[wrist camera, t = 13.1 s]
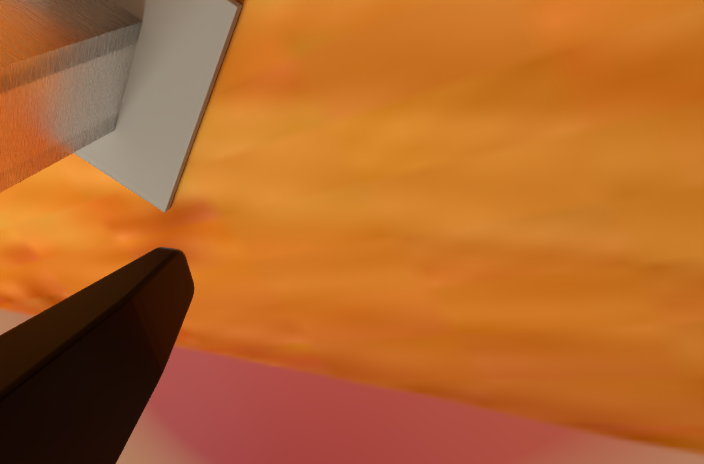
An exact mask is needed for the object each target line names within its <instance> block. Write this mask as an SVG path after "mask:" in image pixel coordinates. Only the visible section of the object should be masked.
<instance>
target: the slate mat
mask: <svg viewBox="0 0 704 464" xmlns="http://www.w3.org/2000/svg"><path fill="white" fill-rule="evenodd" d="M112 1H113V2H115V3H116V4H118V5H119V6H121V7H122V8H124V9H125V10H127V11H128V12H130V13H131V14H133V15H134V16H136V17H137V18H138V19H140V20H141V21H143V23H142V27H141V30H140V34H139V38H138V42H137V46H136V50H135V54H134V58H133V62H132V65H131V69H130V73H129V77H128V81H127V85H126V89H125V93H124V97H123V100H122V104H121V108H120V112H119V116H118V120H117V124H116V128H115V130H114V131H113V132H111V133H109V134H107V135H105V136H103V137H102V138H100V139H98V140H96V141H94V142H92V143H91V144H89V145H87V146H85V147H83V148H81V149H80V150H78V151H76V152H74V154H76V155H78V156H79V157H81V158H82V159H84V160H85V161H87V162H88V163H90V164H91V165H93V166H94V167H96V168H97V169H99V170H100V171H102V172H104V173H105V174H107V175H108V176H110V177H111V178H113V179H114V180H116V181H117V182H119V183H120V184H122V185H123V186H125V187H126V188H128V189H130V190H131V191H133V192H134V193H136V194H137V195H139V196H140V197H142V198H143V199H145V200H146V201H148V202H149V203H151V204H152V205H154V206H156V207H157V208H159V209H160V210H162V211H163V212H166V211H167V210H168V209H170V206H171V203H172V200H173V198H174V195H175V192H176V189H177V187H178V184H179V181H180V178H181V175H182V173H183V170H184V167H185V164H186V161H187V159H188V156H189V153H190V150H191V148H192V145H193V142H194V139H195V136H196V134H197V131H198V128H199V125H200V123H201V120H202V117H203V114H204V111H205V109H206V106H207V103H208V100H209V98H210V95H211V92H212V89H213V86H214V84H215V81H216V78H217V75H218V73H219V70H220V67H221V64H222V61H223V59H224V56H225V53H226V50H227V48H228V45H229V42H230V39H231V36H232V34H233V31H234V28H235V25H236V23H237V20H238V17H239V14H240V11H241V9H242V6H243V5H242V4H240V3H239V2H237V1H236V0H112Z"/></svg>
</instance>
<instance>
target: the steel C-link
mask: <svg viewBox="0 0 704 464" xmlns="http://www.w3.org/2000/svg"><path fill="white" fill-rule="evenodd" d="M142 23H143V21H141V20H140V19H138V18H137V17H136V16H134V15H133V14H131V13H130V12H128V11H127V10H125V9H124V8H122V7H121V6H119V5H118V4H116V3H115V2H113V1H112V0H0V192H2V191H4V190H6V189H8V188H10V187H11V186H13V185H15V184H17V183H19V182H21V181H22V180H24V179H26V178H28V177H30V176H32V175H34V174H35V173H37V172H39V171H41V170H43V169H45V168H46V167H48V166H50V165H52V164H54V163H56V162H57V161H59V160H61V159H63V158H65V157H67V156H68V155H70V154H72V153H74V152H76V151H78V150H80V149H81V148H83V147H85V146H87V145H89V144H91V143H92V142H94V141H96V140H98V139H100V138H102V137H103V136H105V135H107V134H109V133H111V132H113V131H114V130H115V128H116V124H117V120H118V116H119V112H120V108H121V104H122V100H123V97H124V93H125V89H126V85H127V81H128V77H129V73H130V69H131V65H132V62H133V58H134V54H135V50H136V46H137V42H138V38H139V34H140V30H141V27H142Z"/></svg>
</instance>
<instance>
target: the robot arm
mask: <svg viewBox="0 0 704 464" xmlns="http://www.w3.org/2000/svg"><path fill="white" fill-rule="evenodd" d="M193 294H194V282H193V279H192V276H191V272H190V269H189V266H188V263H187V260H186V256H185V254H184V253H183V252H182V251H181V250H179V249H172V248H165V247H159V248H156V249H154V250H152V251H151V252H149V253H147V254H145V255H143V256H142V257H140V258H138V259H136V260H134V261H133V262H131V263H129V264H127V265H125V266H124V267H122V268H120V269H118V270H117V271H115V272H113V273H111V274H109V275H108V276H106V277H104V278H102V279H100V280H99V281H97V282H95V283H93V284H91V285H90V286H88V287H86V288H84V289H82V290H81V291H79V292H77V293H75V294H73V295H72V296H70V297H68V298H66V299H65V300H63V301H61V302H59V303H57V304H56V305H54V306H52V307H50V308H48V309H47V310H45V311H43V312H41V313H39V314H38V315H36V316H34V317H32V318H30V319H29V320H27V321H25V322H23V323H21V324H20V325H18V326H16V327H14V328H12V329H11V330H9V331H7V332H5V333H4V334H2V335H0V464H116V462H117V460H118V458H119V456H120V455H121V453H122V451H123V449H124V447H125V445H126V443H127V441H128V439H129V437H130V435H131V433H132V431H133V429H134V427H135V426H136V424H137V422H138V420H139V418H140V416H141V414H142V412H143V410H144V408H145V407H146V405H147V403H148V401H149V399H150V397H151V395H152V393H153V391H154V389H155V387H156V386H157V384H158V381H159V379H160V377H161V375H162V373H163V371H164V369H165V366H166V364H167V362H168V359H169V357H170V354H171V351H172V349H173V347H174V344H175V341H176V339H177V336H178V334H179V331H180V329H181V326H182V324H183V321H184V318H185V316H186V313H187V311H188V308H189V306H190V303H191V301H192V298H193Z"/></svg>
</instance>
